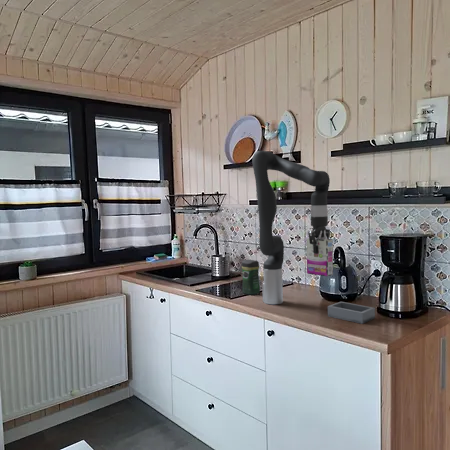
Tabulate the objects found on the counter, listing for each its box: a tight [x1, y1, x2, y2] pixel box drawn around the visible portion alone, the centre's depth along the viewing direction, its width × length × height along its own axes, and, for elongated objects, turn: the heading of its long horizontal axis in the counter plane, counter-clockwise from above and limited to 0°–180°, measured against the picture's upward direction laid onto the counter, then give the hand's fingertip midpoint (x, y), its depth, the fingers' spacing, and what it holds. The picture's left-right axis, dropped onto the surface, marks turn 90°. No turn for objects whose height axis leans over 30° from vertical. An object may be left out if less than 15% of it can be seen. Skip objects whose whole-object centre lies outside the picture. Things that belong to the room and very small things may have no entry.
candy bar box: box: [306, 237, 334, 277], centre depth 189 cm, size 11×5×16 cm, turn 45°
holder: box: [327, 301, 376, 325], centre depth 179 cm, size 16×10×4 cm, turn 43°
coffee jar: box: [241, 259, 261, 295], centre depth 228 cm, size 10×8×19 cm
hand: (319, 252), depth 189 cm, fingers closed on candy bar box, 5 cm apart
